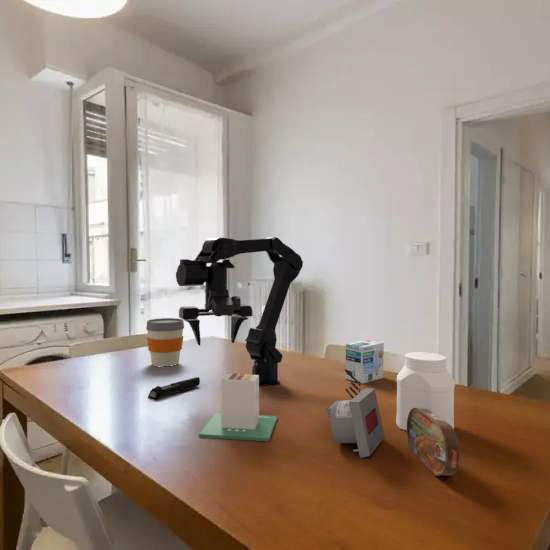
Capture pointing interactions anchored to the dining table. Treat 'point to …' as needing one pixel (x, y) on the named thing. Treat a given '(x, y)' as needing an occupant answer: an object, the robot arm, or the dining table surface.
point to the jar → (425, 387)
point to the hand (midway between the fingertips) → (216, 344)
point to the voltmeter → (357, 420)
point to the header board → (259, 434)
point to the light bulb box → (364, 360)
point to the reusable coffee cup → (165, 340)
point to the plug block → (240, 401)
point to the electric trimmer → (173, 388)
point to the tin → (433, 441)
